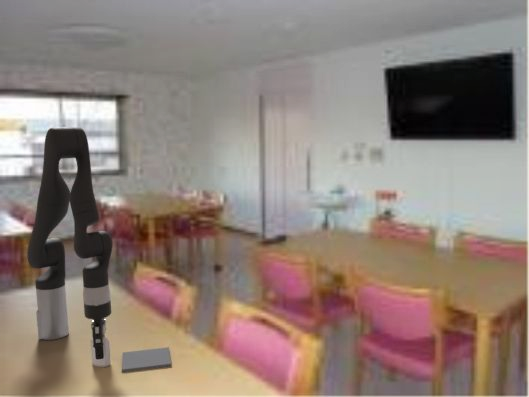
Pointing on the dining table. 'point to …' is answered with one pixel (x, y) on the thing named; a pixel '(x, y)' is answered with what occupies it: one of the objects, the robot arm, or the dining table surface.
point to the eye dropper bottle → (106, 350)
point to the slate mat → (146, 359)
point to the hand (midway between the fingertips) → (100, 352)
